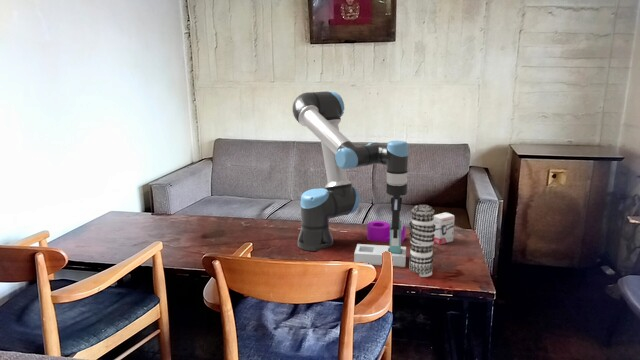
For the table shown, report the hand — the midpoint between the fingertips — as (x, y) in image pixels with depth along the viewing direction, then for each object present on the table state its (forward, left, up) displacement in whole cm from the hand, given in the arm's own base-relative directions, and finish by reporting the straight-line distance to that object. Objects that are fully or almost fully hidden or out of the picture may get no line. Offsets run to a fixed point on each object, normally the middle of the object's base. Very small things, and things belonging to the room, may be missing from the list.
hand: (395, 243), depth 178 cm
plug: (0, 0, -6) cm, 6 cm away
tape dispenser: (-5, +26, -9) cm, 28 cm away
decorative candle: (+10, -7, -8) cm, 14 cm away
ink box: (+19, +27, -8) cm, 34 cm away
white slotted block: (-5, 0, -8) cm, 10 cm away
